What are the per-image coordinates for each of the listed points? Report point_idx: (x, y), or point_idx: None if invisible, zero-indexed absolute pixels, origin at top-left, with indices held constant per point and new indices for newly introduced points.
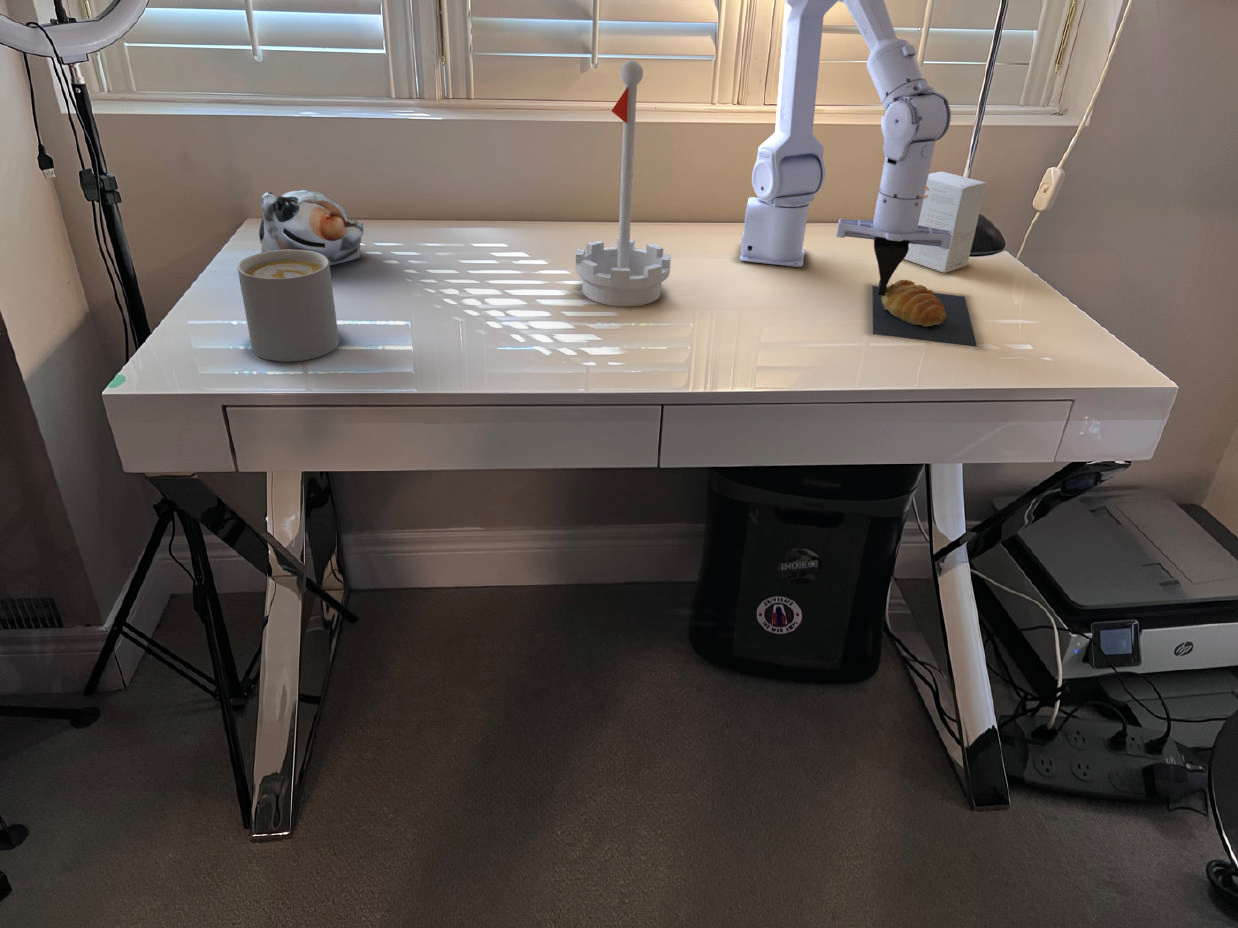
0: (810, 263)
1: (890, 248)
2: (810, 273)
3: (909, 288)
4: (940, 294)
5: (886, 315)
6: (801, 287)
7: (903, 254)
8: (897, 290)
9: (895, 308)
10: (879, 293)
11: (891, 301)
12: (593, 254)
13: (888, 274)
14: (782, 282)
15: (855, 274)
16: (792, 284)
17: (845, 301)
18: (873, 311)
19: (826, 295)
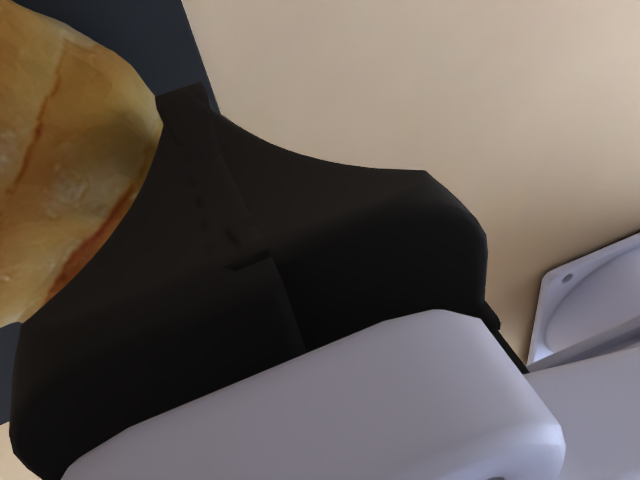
0: (509, 323)
1: (274, 296)
2: (512, 259)
3: (6, 219)
4: (5, 415)
5: (84, 2)
6: (554, 114)
7: (40, 327)
8: (88, 171)
9: (17, 8)
10: (194, 85)
11: (81, 61)
12: None
13: (177, 159)
14: (621, 116)
15: None
16: (586, 121)
17: (361, 80)
18: (184, 21)
19: (453, 96)
